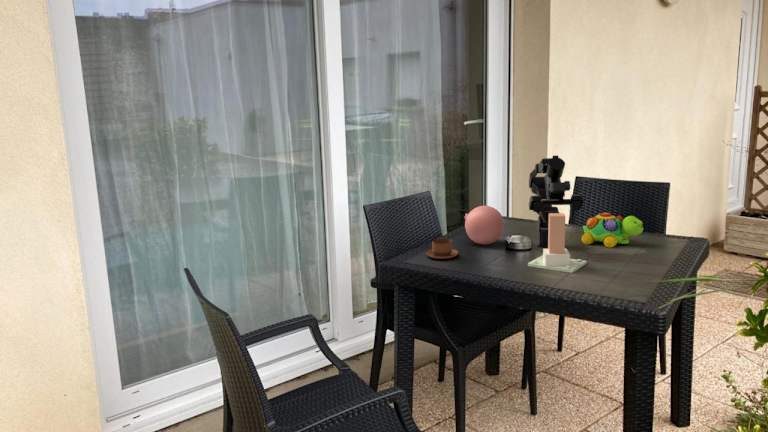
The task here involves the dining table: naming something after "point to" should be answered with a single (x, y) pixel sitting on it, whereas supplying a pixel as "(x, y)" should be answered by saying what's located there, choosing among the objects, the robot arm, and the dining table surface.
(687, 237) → the dining table surface
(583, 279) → the dining table surface
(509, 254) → the dining table surface
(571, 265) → the tower base
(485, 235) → the balloon
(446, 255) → the cup and saucer
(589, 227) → the turtle toy
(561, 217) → the column brick
